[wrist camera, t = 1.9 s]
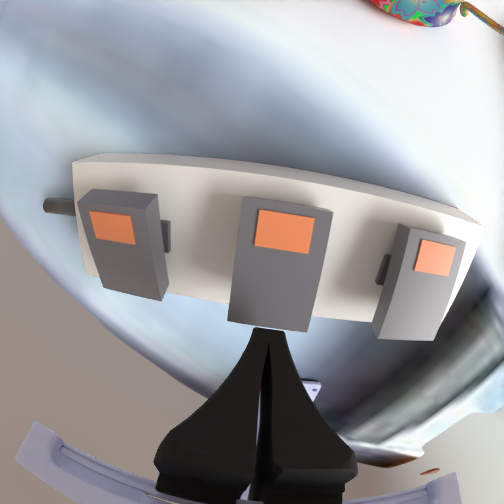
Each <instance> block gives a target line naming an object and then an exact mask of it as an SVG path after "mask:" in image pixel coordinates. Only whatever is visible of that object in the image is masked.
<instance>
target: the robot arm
mask: <svg viewBox="0 0 504 504" xmlns="http://www.w3.org/2000/svg"><path fill="white" fill-rule="evenodd" d="M320 388H321V384H320V383H319V382H313V381H301V379H300V377H299V374H298V372H297V370H296V367H295V365H294V362H293V360H292V357H291V354H290V351H289V348H288V344H287V340H286V336H285V333H284V331H279V330H272V329H265V328H258V327H255V328H253V332H252V335H251V338H250V340H249V343H248V345H247V347H246V349H245V351H244V352H243V354H242V356H241V358H240V360H239V361H238V363H237V364H236V366H235V367H234V369H233V370H232V372H231V373H230V374H229V376H228V377H227V378H226V380H225V381H224V382H223V384H222V385H221V386H220V387H219V388H218V389H217V391H216V392H215V393H214V394H213V395H212V396H211V397H210V398H209V399H208V400H207V401H206V402H205V403H204V404H203V405H202V406H201V407H200V408H199V409H197V410H196V411H195V412H194V413H193V414H192V415H191V416H190V417H188V418H187V419H186V420H184V421H183V422H182V423H180V424H179V425H177V426H176V427H175V428H173V429H172V430H170V432H169V433H168V434H167V435H166V437H165V438H164V440H163V441H162V443H161V444H160V446H159V448H158V450H157V453H156V455H155V458H154V465H155V466H156V468H157V469H158V471H159V472H160V473H159V477H158V480H157V482H156V481H153V480H150V479H147V478H144V477H141V476H138V475H135V474H133V473H130V472H127V471H125V470H122V469H120V468H117V467H115V466H112V465H110V464H108V463H105V462H103V461H101V460H99V459H97V458H94V457H92V456H90V455H88V454H86V453H84V452H82V451H80V450H78V449H76V448H74V447H73V446H71V445H69V444H67V443H65V442H64V441H63V440H62V439H61V438H60V437H59V436H58V435H57V434H56V433H54V432H53V431H51V430H50V429H48V428H46V427H45V426H43V425H41V424H40V423H38V422H37V421H35V422H34V423H33V425H32V427H31V429H30V430H29V432H28V434H27V436H26V438H25V439H24V442H23V443H22V445H21V447H20V449H19V451H18V453H17V455H16V457H15V460H16V461H17V462H18V463H20V464H21V465H22V466H23V467H25V468H26V469H27V470H29V471H30V472H31V473H33V474H34V475H36V476H37V477H38V478H40V479H41V480H43V481H44V482H45V483H47V484H48V485H50V486H51V487H53V488H54V489H56V490H57V491H59V492H61V493H62V494H64V495H65V496H67V497H69V498H71V499H72V500H74V501H76V502H77V503H79V504H171V503H168V502H165V501H162V500H159V499H157V498H154V497H151V496H155V497H158V498H161V499H164V500H168V501H171V502H175V503H180V504H462V503H461V497H460V491H459V485H458V480H457V475H456V473H455V472H454V473H451V474H448V475H445V476H442V477H439V478H437V479H435V480H433V481H431V482H429V483H428V484H427V485H423V486H420V487H416V488H412V489H408V490H404V491H400V492H395V493H391V494H386V495H381V496H375V497H369V498H362V499H355V500H346V501H342V493H343V492H344V491H345V483H347V482H348V481H350V480H352V479H353V478H354V477H355V476H356V475H357V474H358V466H357V461H356V457H355V454H354V451H353V450H352V449H351V448H350V447H349V446H348V445H347V444H346V443H345V442H344V441H343V440H342V439H341V438H340V437H339V436H338V435H337V434H336V432H335V431H334V430H333V429H332V428H331V427H330V425H329V424H328V423H327V421H326V420H325V419H324V417H323V416H322V415H321V413H320V412H319V410H318V409H317V407H316V406H315V404H314V403H313V401H314V399H315V397H316V395H317V393H318V392H319V390H320ZM147 494H148V495H151V496H148V495H147Z"/></svg>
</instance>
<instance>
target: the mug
mask: <svg viewBox="0 0 504 504" xmlns="http://www.w3.org/2000/svg"><path fill="white" fill-rule="evenodd" d="M370 1H371V2H373V3H374V4H375V5H377V6H378V7H379V8H381V9H383V10H384V11H386V12H387V13H389V14H391V15H393V16H395V17H397V18H399V19H401V20H403V21H406V22H408V23H411V24H414V25H418V26H424V27H439V26H443V25H446V24H448V23H449V22H450V21H451V20H452V19H453V18H454V16H455V14H456V11H457V7H458V6H459V5H460V3H461V5H460V13H461V15H462V16H463V17H466V16H467V15H468V11H470V12H471V13H472V14H474V15H475V16H476V17H478V18H479V19H480V20H482V21H483V22H484V23H486V24H487V25H488V26H490V27H491V28H493V29H494V30H496V31H497V32H499V33H500V34H502V35H503V36H504V27H502V26H501V25H499V24H498V23H496V22H495V21H493V20H492V19H491V18H489V17H488V16H487V15H485V14H484V13H483V12H481V11H480V10H479V9H477V8H476V7H475V6H473V5H472V4H470V3H468V2H463V1H464V0H370Z"/></svg>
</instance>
